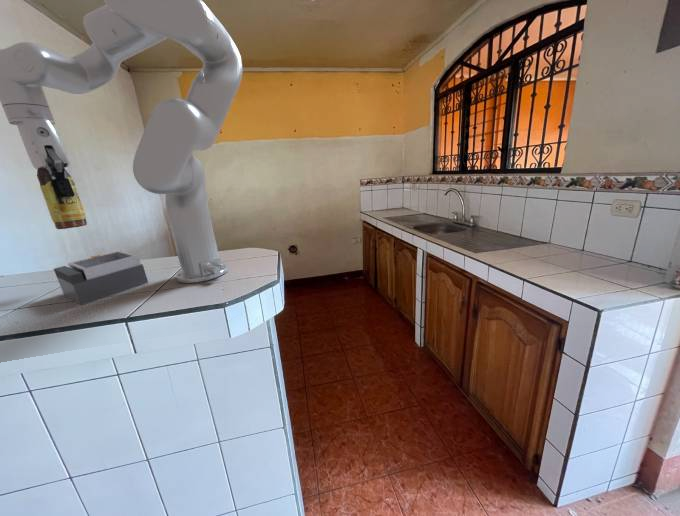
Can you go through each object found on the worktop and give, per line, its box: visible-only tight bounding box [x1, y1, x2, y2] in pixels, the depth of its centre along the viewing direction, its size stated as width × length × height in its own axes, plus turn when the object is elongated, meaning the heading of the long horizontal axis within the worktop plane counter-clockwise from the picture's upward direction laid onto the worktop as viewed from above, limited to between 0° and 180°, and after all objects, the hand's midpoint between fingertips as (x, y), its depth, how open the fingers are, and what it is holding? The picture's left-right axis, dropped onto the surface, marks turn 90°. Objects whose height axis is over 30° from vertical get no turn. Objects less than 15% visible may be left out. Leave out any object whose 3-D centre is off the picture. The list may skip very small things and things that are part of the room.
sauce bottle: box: [36, 155, 88, 230], centre depth 70 cm, size 6×6×20 cm
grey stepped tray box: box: [53, 250, 149, 306], centre depth 72 cm, size 12×14×8 cm
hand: (61, 196), depth 71 cm, fingers closed on sauce bottle, 6 cm apart
